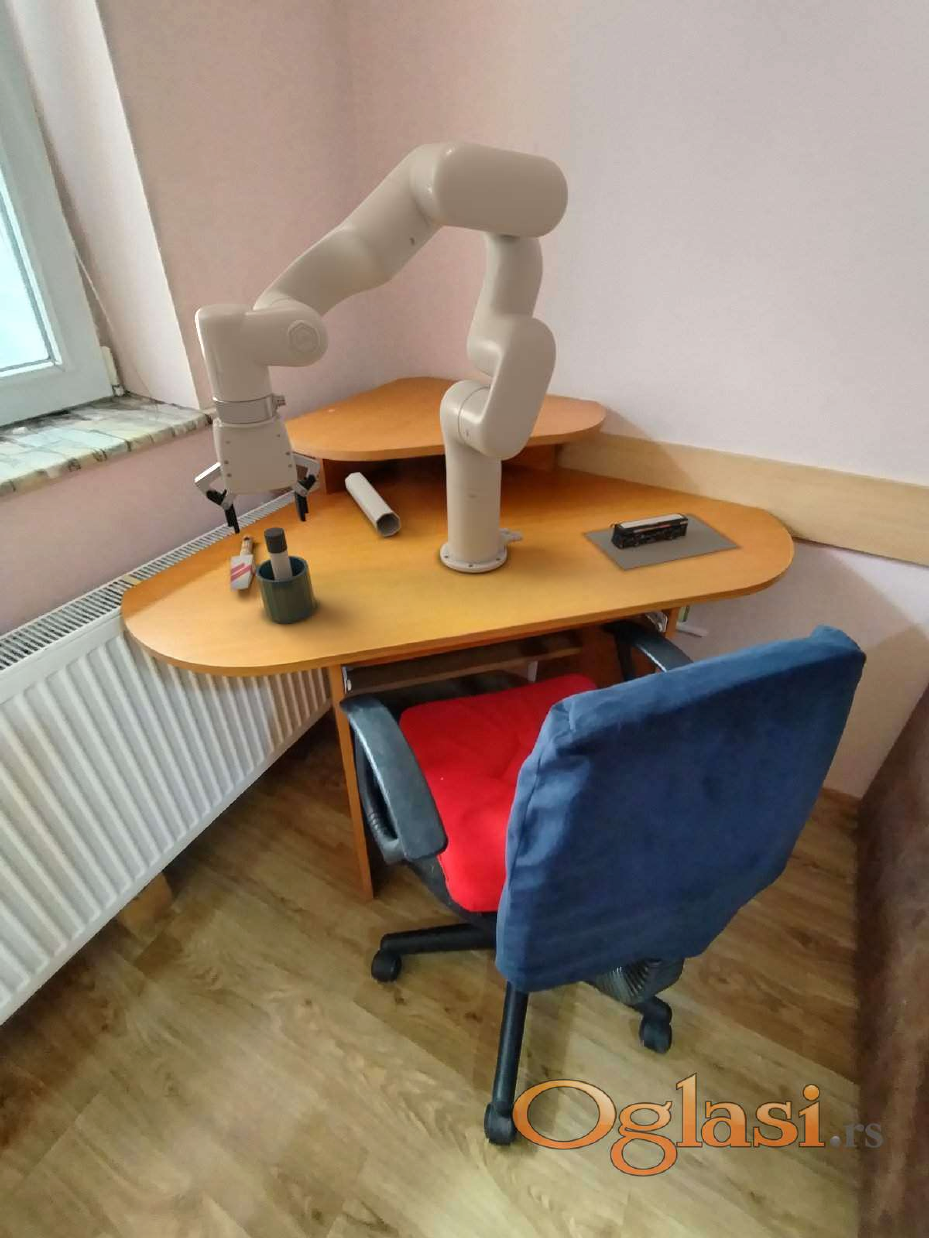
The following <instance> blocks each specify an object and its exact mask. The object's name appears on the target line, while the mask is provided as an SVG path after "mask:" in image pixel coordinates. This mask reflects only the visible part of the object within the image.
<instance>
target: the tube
mask: <svg viewBox="0 0 929 1238" xmlns="http://www.w3.org/2000/svg"><path fill="white" fill-rule="evenodd" d="M344 482H345V487H346V490H347V491H348V492H349V493H350V495H351V496H352V497H353V499H354V500H355V502H356V503H357V504H358V506H359V507H360V509H361V510H362V511H363V512H364V514H365V515H366V517H367V519H369V522H371V523H372V525H373V527H374V528H375V531H376V532H377V533H378V534H379V535H380V536H382V537H383V538H386V537H391V536H394V535H395V534H396V533H397V532H398V531H399V530H400V529H401V527H402V525H401V518H400V516H399V515H398V514H397V513H395V511H394V510H393V509H392V508H391V507H390V506H389V505H388V503H387V502H386V501H385V500H384V499H383V497H381V495H380V494H379V493H378V491H377V490H376V489H375V488H374V486H373V485H372V484H371V483H370V482H369V480H368V479H367V478H366V477H365V476H364V475H363V474H362V473H361V472H359V471H358V472H353V473H350V474H349V475H348V476H347V477H346V478H345V480H344Z"/></svg>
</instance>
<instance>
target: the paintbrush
mask: <svg viewBox="0 0 929 1238" xmlns="http://www.w3.org/2000/svg"><path fill="white" fill-rule="evenodd" d="M241 542H242V543H241V548H240V553H239V555H236V556H231V557H230V591H235V590H243V589H248V588H249V586H250V583H251V582H252V579H253V576H254V574H255V573H256V572H255V571H256V569H257V565H256V563H255V559H254V554H252V549H253V544H254V543H253V542H254V537H253V536H252V535H251V534H245V535H243V537H242V541H241Z"/></svg>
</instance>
